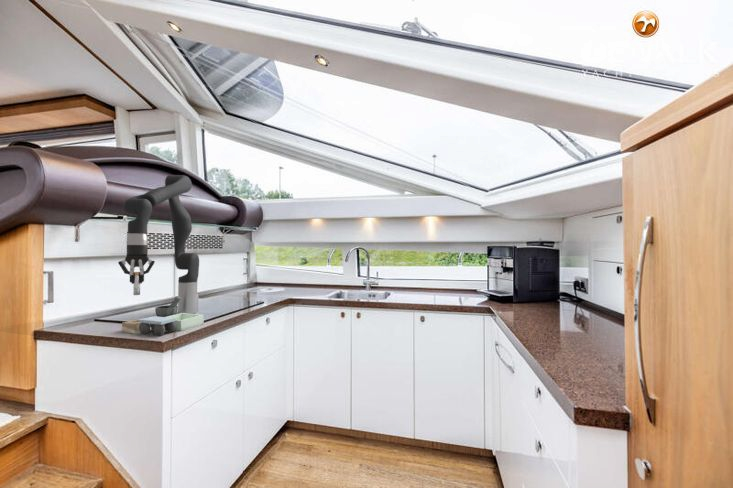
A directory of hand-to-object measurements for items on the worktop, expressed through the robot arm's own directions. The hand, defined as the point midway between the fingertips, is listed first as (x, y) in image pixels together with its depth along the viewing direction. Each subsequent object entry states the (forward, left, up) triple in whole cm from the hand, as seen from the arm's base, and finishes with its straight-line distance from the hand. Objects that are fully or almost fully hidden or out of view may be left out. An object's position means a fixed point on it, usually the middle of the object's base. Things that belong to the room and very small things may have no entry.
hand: (136, 283), depth 143 cm
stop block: (0, 0, -21) cm, 21 cm away
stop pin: (0, 0, -5) cm, 5 cm away
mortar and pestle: (-19, -3, -21) cm, 28 cm away
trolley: (0, +12, -21) cm, 24 cm away
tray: (-12, +13, -21) cm, 27 cm away
